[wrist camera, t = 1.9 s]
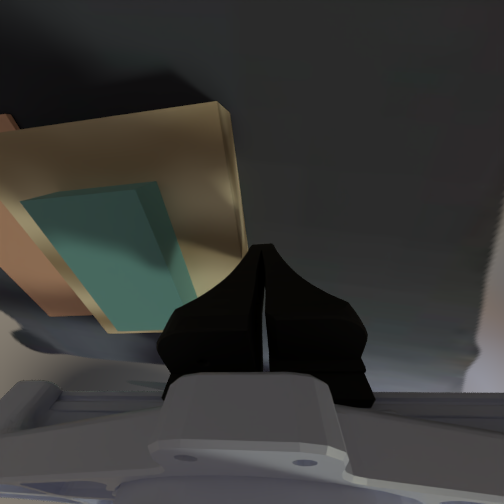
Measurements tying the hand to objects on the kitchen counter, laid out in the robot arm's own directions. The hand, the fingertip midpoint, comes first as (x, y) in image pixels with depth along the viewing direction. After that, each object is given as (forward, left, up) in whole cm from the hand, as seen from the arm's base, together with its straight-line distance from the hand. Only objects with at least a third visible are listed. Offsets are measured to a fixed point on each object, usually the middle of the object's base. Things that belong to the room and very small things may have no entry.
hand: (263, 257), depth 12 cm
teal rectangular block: (0, +8, -1) cm, 9 cm away
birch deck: (0, +8, -5) cm, 10 cm away
